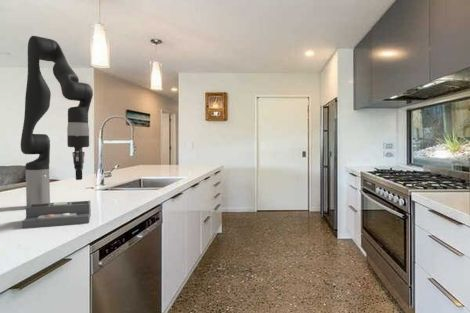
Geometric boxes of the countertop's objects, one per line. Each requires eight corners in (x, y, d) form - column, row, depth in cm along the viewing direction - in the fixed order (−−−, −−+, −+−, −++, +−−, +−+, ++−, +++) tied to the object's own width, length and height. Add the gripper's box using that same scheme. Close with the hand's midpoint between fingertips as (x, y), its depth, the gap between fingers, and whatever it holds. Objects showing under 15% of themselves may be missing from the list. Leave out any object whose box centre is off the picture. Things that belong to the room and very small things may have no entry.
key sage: (54, 208, 123) (54, 202, 123) (67, 207, 125) (67, 202, 125) (52, 210, 119) (52, 205, 119) (66, 209, 120) (66, 204, 120)
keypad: (31, 219, 123) (31, 203, 123) (90, 214, 130) (90, 200, 130) (22, 228, 110) (22, 210, 110) (88, 223, 117) (88, 206, 117)
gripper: (69, 134, 128) (70, 178, 129) (65, 134, 116) (65, 182, 117) (90, 135, 131) (90, 177, 132) (88, 134, 118) (88, 181, 119)
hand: (79, 179), depth 124 cm, fingers closed
